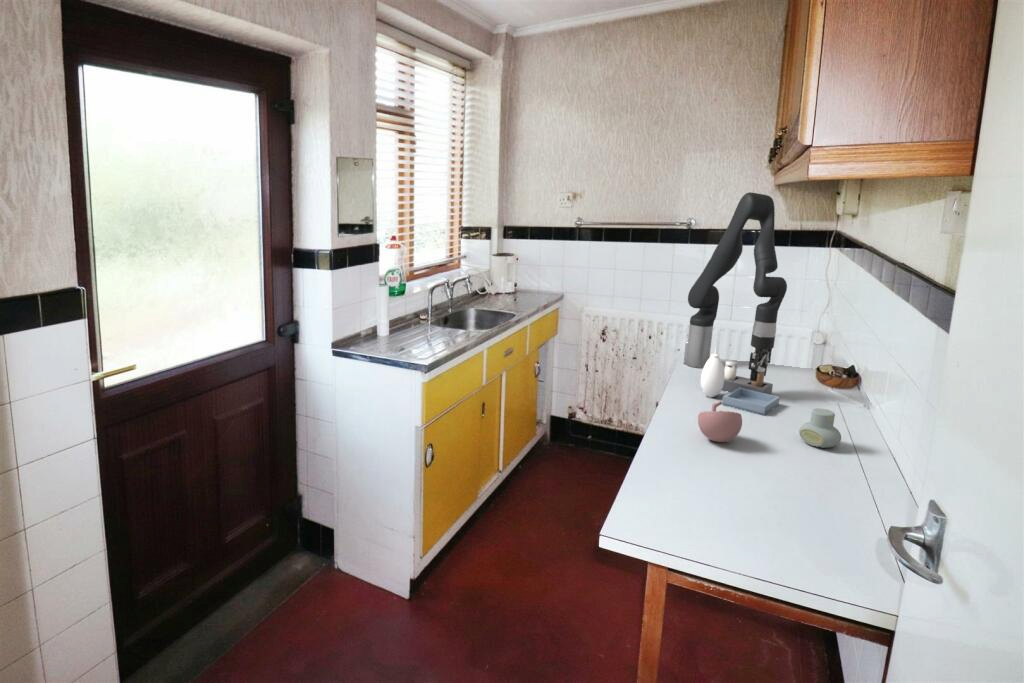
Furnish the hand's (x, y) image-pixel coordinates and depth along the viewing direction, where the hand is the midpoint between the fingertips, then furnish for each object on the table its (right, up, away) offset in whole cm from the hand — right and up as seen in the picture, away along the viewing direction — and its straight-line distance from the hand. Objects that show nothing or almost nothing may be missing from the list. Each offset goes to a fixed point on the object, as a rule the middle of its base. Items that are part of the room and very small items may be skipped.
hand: (757, 378), depth 219 cm
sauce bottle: (-17, -6, -2) cm, 19 cm away
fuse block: (-4, -5, +5) cm, 8 cm away
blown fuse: (0, -6, +1) cm, 6 cm away
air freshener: (+1, -17, -41) cm, 44 cm away
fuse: (-8, -4, +8) cm, 12 cm away
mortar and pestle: (-28, -16, -40) cm, 52 cm away
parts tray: (-6, -8, -10) cm, 14 cm away
